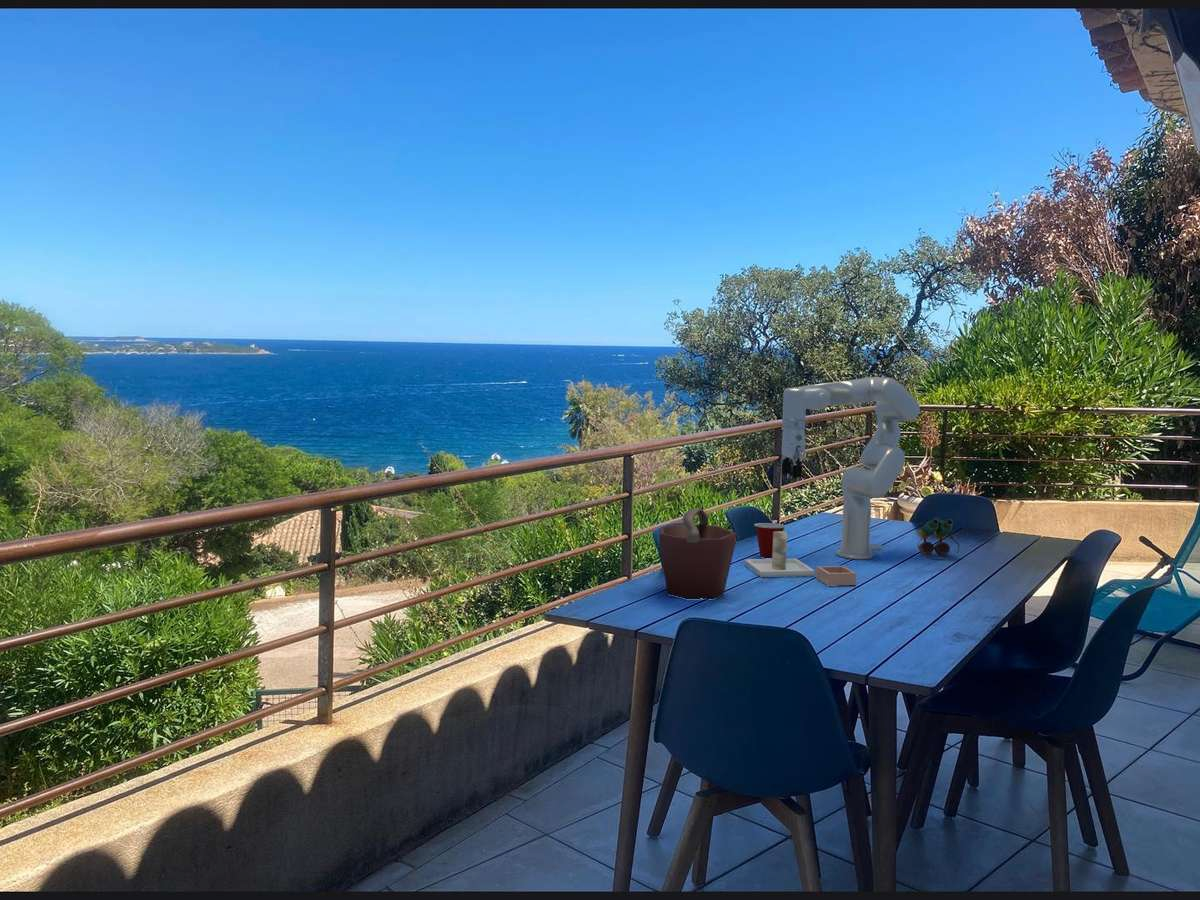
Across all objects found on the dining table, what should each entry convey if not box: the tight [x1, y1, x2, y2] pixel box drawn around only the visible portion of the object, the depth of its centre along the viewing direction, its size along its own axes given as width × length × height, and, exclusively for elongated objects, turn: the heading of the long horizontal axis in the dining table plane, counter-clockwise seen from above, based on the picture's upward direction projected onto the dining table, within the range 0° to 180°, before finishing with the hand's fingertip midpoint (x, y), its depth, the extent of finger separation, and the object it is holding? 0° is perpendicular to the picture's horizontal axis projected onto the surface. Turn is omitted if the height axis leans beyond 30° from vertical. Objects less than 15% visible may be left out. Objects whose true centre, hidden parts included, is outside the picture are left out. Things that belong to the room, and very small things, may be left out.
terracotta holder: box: [815, 565, 857, 586], centre depth 256 cm, size 9×9×4 cm
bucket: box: [659, 508, 737, 599], centre depth 241 cm, size 24×22×25 cm
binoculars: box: [917, 517, 960, 561], centre depth 290 cm, size 14×14×15 cm
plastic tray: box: [744, 557, 816, 578], centre depth 269 cm, size 18×16×2 cm
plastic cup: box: [754, 522, 786, 558], centre depth 287 cm, size 11×11×12 cm
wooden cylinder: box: [772, 530, 788, 570], centre depth 268 cm, size 4×4×12 cm
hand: (791, 475), depth 277 cm, fingers open, 9 cm apart
